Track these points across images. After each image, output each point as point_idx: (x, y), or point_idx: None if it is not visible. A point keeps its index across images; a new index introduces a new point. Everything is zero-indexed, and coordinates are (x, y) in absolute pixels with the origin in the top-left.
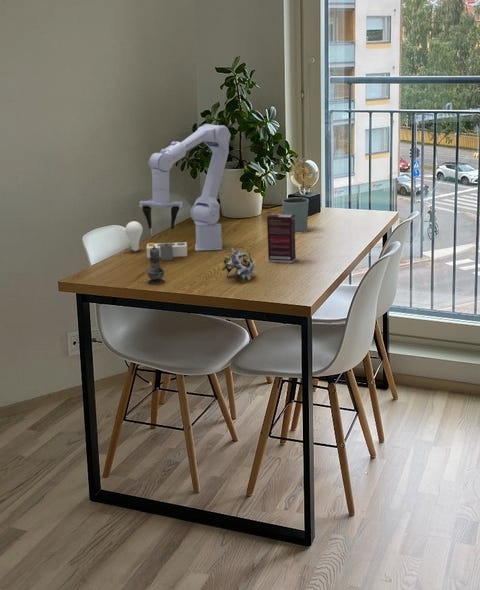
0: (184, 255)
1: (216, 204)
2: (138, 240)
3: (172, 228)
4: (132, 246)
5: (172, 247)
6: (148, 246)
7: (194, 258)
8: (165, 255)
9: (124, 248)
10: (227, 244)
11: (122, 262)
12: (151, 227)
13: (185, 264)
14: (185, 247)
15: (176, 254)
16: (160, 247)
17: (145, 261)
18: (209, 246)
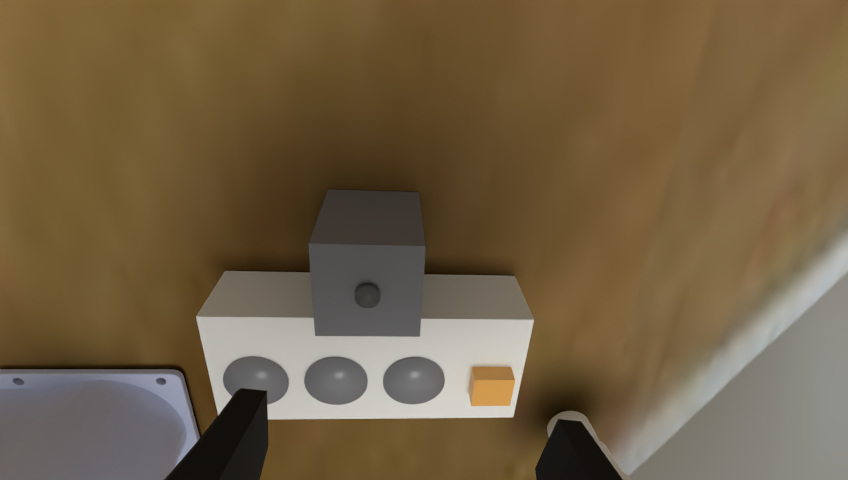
0: (243, 274)
1: None
2: None
3: (244, 393)
4: (594, 433)
5: None
6: (512, 360)
7: (154, 201)
8: (382, 205)
9: None
10: None
11: (703, 198)
12: (538, 463)
13: (199, 19)
14: (211, 311)
15: (301, 280)
16: (424, 241)
17: (538, 192)
18: (69, 395)
